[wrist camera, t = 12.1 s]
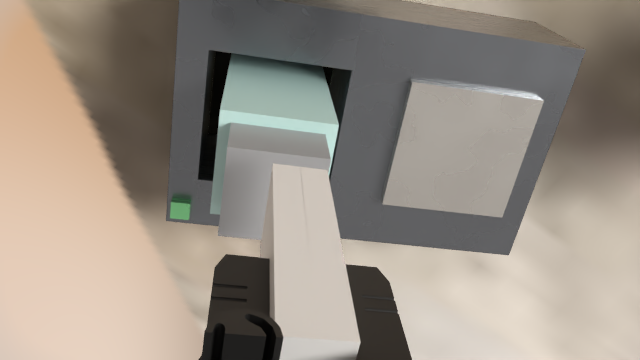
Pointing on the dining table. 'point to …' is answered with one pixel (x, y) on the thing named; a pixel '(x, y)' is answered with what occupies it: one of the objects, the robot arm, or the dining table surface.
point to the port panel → (391, 111)
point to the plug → (267, 135)
